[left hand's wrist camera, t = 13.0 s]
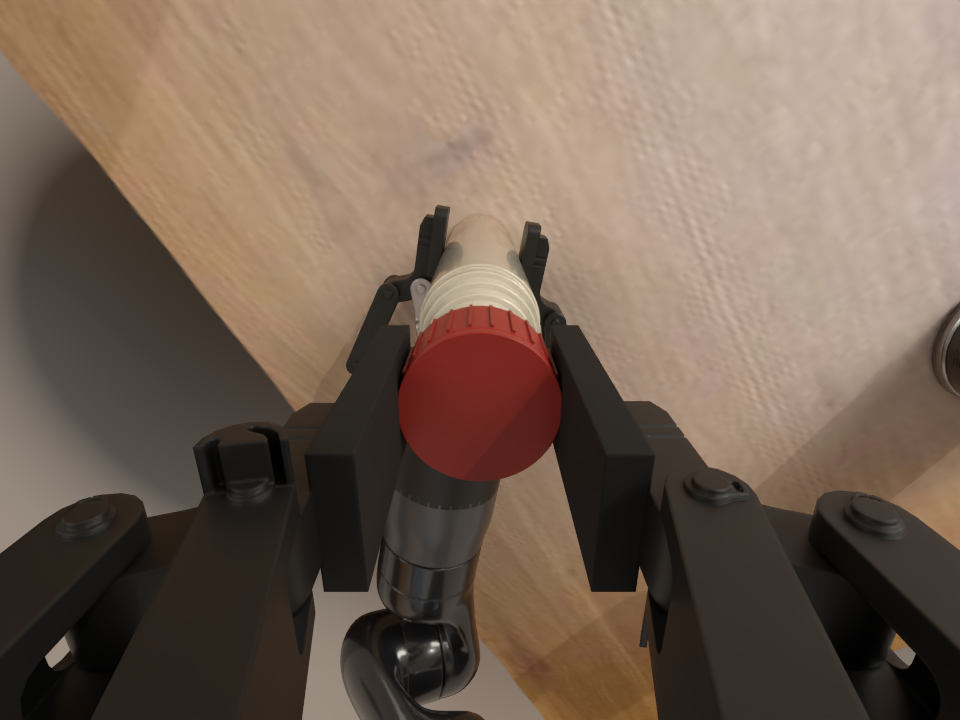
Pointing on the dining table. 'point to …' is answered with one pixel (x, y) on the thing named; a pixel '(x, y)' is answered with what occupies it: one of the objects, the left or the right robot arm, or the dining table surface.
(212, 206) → the dining table surface
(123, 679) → the left robot arm
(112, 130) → the dining table surface
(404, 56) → the dining table surface
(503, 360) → the cap
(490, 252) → the bottle
